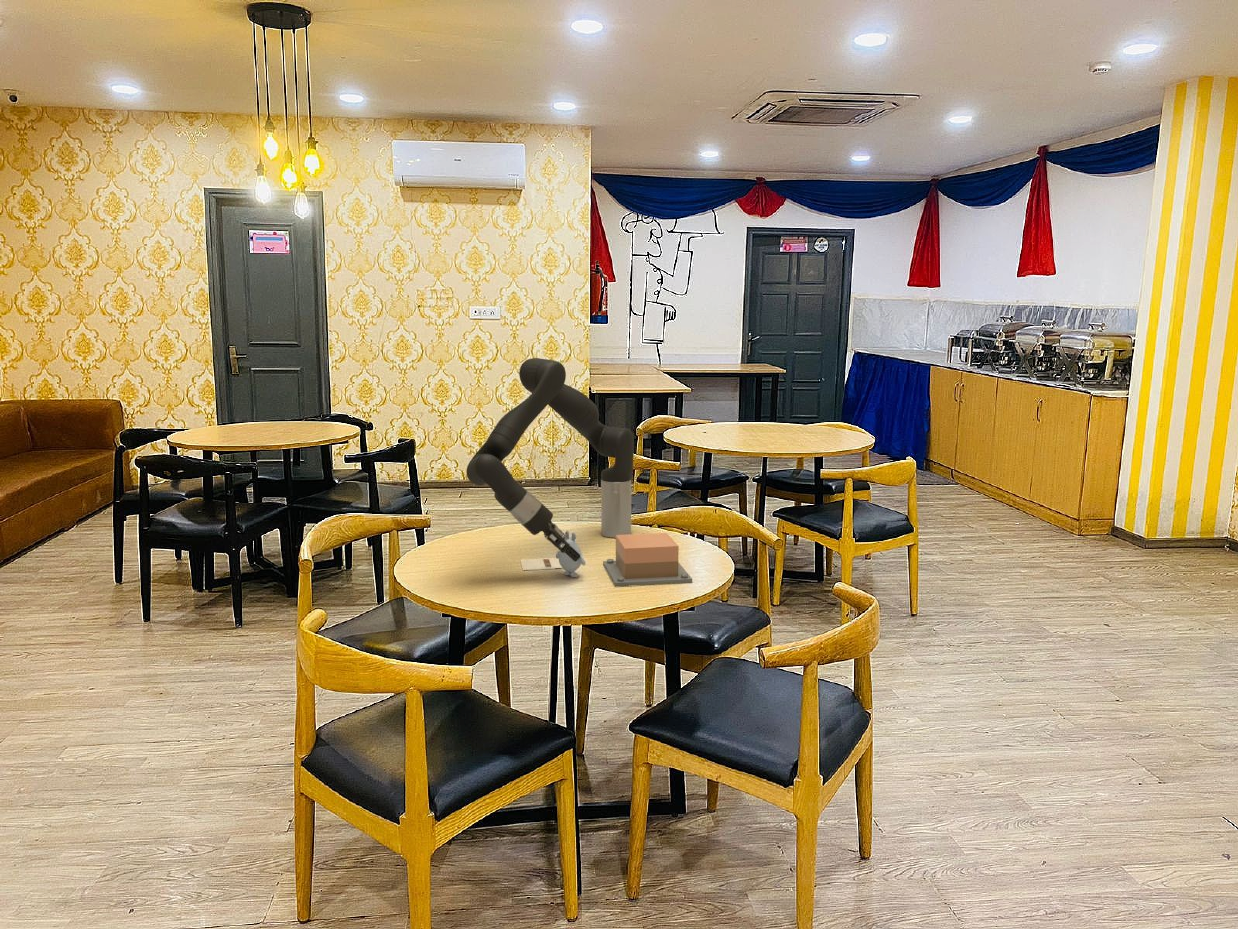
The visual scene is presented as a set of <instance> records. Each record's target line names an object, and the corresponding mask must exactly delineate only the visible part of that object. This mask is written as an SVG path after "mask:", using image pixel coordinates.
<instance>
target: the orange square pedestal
mask: <svg viewBox="0 0 1238 929" xmlns="http://www.w3.org/2000/svg"><path fill="white" fill-rule="evenodd" d="M679 548H680V547H679V545H678V544H677V542H676V541H674V539H673V538H672V537H671V535H669V534H668V533H667V532H654V533H631V534H627V535H616V538H615V559H613V558H607V559H606V560H604V561H602V565H603V568H604V569H605V571H606V573H607V572H608V573H607V575H608V576H609V579H610V580H611V582H612V583H613V585H615V586H614V587H615V588H617V587H616V586H621V587H632V586H631V585H640V586H656V585H655V584H659V585H666V584H665V583H669V584H668V585H675V583H677V584H693V578H692V577H691V575H690V574H689V573H688V572H687V570H685V568H684V566H682V564H680V562H679V554H680V553H679V551H680V550H679ZM670 583H672V584H670ZM629 585H630V586H629Z"/></svg>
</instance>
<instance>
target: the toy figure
mask: <svg viewBox="0 0 1238 929" xmlns="http://www.w3.org/2000/svg"><path fill="white" fill-rule="evenodd" d="M564 534H565V537H566V539H567V540H566V541H567V542H568V543H569V544H570V545H571V547H572V548H574V549H575V550H576V551H577V552H578V553H579V554H580V556H581V557H580V558H579V559H578V560H577V561H573V560H572V559H571V558H570V557H569V556H568V555H567V554H566V553H562V552H561V551H560V550H558V551H557V552H556V554H555V558H557V559H559V563H560V565H561V567H562V568H563V569H562V570H564V571H565V572H564V575H565V576H567V575H570V576H569V577H571V578H578V576H579V574H578V573H577V572H576V570H578V569H579V568H580V567H581V565H582V566H585V565H586V564H587V563H586V560H585V558H584V557H583V553H582V550H581V547H580V546H579V543H578V542H577V540H576V539H577V534H576V533H575V532H572V533H571V537H570V532H569V531H568V530H566V531H565V532H564ZM564 545H565V544H563V546H564ZM563 546H562V545H561V547H562V548H563Z"/></svg>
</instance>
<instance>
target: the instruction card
mask: <svg viewBox="0 0 1238 929" xmlns="http://www.w3.org/2000/svg"><path fill="white" fill-rule="evenodd" d="M520 564H521V568H522V571H523V572H525V571H524V570H531V571H543V570H542V569H551V570H556V569H555V568H562V567H561V565H560V563H559V559H557V558H556V557H551V558H549V557H547V558H528V559H526V558H525V559H520Z"/></svg>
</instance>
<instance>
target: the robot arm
mask: <svg viewBox="0 0 1238 929" xmlns="http://www.w3.org/2000/svg"><path fill="white" fill-rule="evenodd" d="M518 373H519V375H518V376H519V380H520V383H521V385H522V386H523V387H524V389H525V390H526V391H528V392H529V393H531V394H530V395H529V396H528V397H526V399H524V401H521V403H519V404H518V405H516V406H515V407H514V408H512V409H510V410H509V411H508V412H507V413H505V414H504V415H502V417H501V418H500V419H499V421H498V422H497V423H496V425H495V426H494V428H493V429H492V431H491V432H490V434H489V435H488V438H487V439H486V440H485V442H484V443H483V444H482V445H481V447H480V448H478V450H477V452H476V453H475V454H474V455H473V457H472V458H471V460H470V461H469V463H468V464H467V467H466V477H467V479H468V481H469V482H470V483H472V484H473V485H476V486H483V485H487V486H489V488H490V489H491V490H492V491H493V492H494V495H493V497H494V499H495V500H496V501H497V502H498V503H499V504H500V505H501V506H502V507H503V508H504V509H505V510H507V511H508V513H509V514H510V515H511V516H512V517H513V518H514V519H515V520H516V521H517V522H518V523H519V524H521V525H522V527H524V528H525V529H526V530H527V531H528V532H529V533H530V534H531V535H533V536H536V535H538V534H539V533H540V532H543V536H544V538H545V539H546V540H547V541H549V542H550V543H551V544H552V545H553V546H554V547H555V548H557V549H558V551H561V552H562V553H566V554H567V555H568V556H569V557H570V558H571V559H572V560H573V561H577V560H578V559H579V558H580V557H581V556H580V554H579V553H578V552H577V551H576V550H575V549H574V548H572V547H571V545H570V544H569V543H568V542H567V541H566V540H567V539H566V537H565V532H563V530H561V528H559V527H558V525H557V524H556V523H554V522H552V519H553V518H554V517H553V516H554V513H553V512H552V511H550V509H548V507H547V506H545V505H544V504H543V503H542V502H541V501H540V499H538V498H537V497H536V496H534V494H531V493H530V492H529V491H528V490H527V489H525V488H524V487H523V486H522V485H521V484H520V483H519V482H518V481H516V479H515V478H514V477H513V475H512V474H511V472H510V471H509V470H508V468H507V467H506V465H505V464H504V463H503V461H504V460H505V459H506V458H507V457H508V456H509V455H510V454H511V453H512V452H513V450H514V449H515V447H516V446H517V444H518V443H519V441H520V439H521V438H522V436H523V435H524V433H525V432H526V431H527V429H528V427H529V426H530V425H532V423H533V422H534V421H535V420H536V419H537V417H538V416H539V415H540V414H541V413H542V412H544V410H545V409H546V407H547V406H549V407H550V409H552V410H553V411H554V412H555V413H556V414H558V416H560V417H561V418H562V419H563V420H564V421H565V422H566V423H567V424H569V425H570V426H571V427H572V428H574V430H576V431H577V432H578V433H579V434H580V435H581V436H582V437H584V438H585V440H586V441H587V442H588V443H589V444H590V445H591V447H592V448H593V449H594V450H595V451H596V452H597V453H598V454H599V455H600V456H602V457H606V458H614V465H612V466H611V467H607V468H604V469H602V470H601V473H600V490H601V491H600V496H601V497H600V498H601V499H600V500H601V501H600V508H601V509H600V511H601V514H600V518H601V521H600V522H601V523H600V525H601V528H600V529H601V530H600V532H601V535H602V536H603V537H606V538H615V539H616V535H627V534H632V473H633V469H634V454H635V452H634V450H635V438H634V437H635V436H634V434H633V432H632V431H631V429H629V428H626V427H617V426H608V425H605V424H603V423H601V421H600V413H599V409H598V407H597V405H596V404H595V402H593V400H591V399H590V398H589V397H588V395H586V394H584V393H583V392H581V391H579V390H578V389H576V388H574V387H572V386H571V385H568V384H565V382H566V377H567V375H566V374H567V371H566V368H565V367H564V364H563V363H561V362H559V361H557V360H553V359H547V358H540V357H532V358H527V359H526V360H525V361H523V362H522V363H521V365H520V366H519V372H518ZM563 544H565V545H564V546H563ZM562 546H563V548H562Z"/></svg>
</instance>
